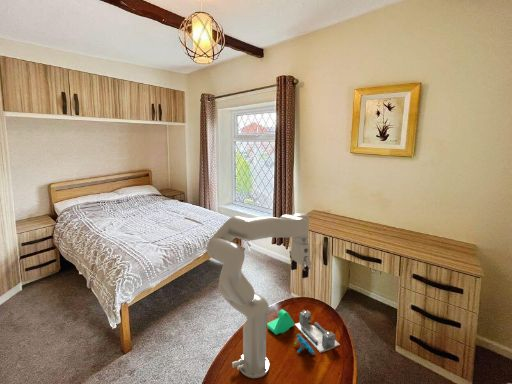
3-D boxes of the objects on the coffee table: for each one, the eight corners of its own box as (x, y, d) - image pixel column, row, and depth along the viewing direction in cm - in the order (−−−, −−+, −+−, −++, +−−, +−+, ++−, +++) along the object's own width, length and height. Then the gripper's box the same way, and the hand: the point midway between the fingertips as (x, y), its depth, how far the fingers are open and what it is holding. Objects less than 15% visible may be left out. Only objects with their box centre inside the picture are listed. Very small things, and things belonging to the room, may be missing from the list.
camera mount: (283, 320, 141) (284, 302, 139) (294, 327, 135) (294, 308, 133) (266, 328, 134) (266, 309, 132) (276, 336, 128) (276, 317, 126)
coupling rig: (320, 352, 117) (320, 338, 116) (294, 325, 136) (294, 312, 135) (339, 345, 121) (340, 331, 120) (312, 320, 140) (312, 307, 139)
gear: (319, 355, 114) (305, 343, 111) (310, 366, 113) (295, 354, 110) (307, 339, 124) (294, 327, 121) (298, 348, 124) (285, 337, 121)
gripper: (318, 243, 119) (316, 279, 121) (297, 233, 135) (296, 265, 137) (304, 245, 116) (303, 282, 118) (284, 235, 132) (283, 268, 134)
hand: (299, 273), depth 128 cm, fingers open, 9 cm apart
